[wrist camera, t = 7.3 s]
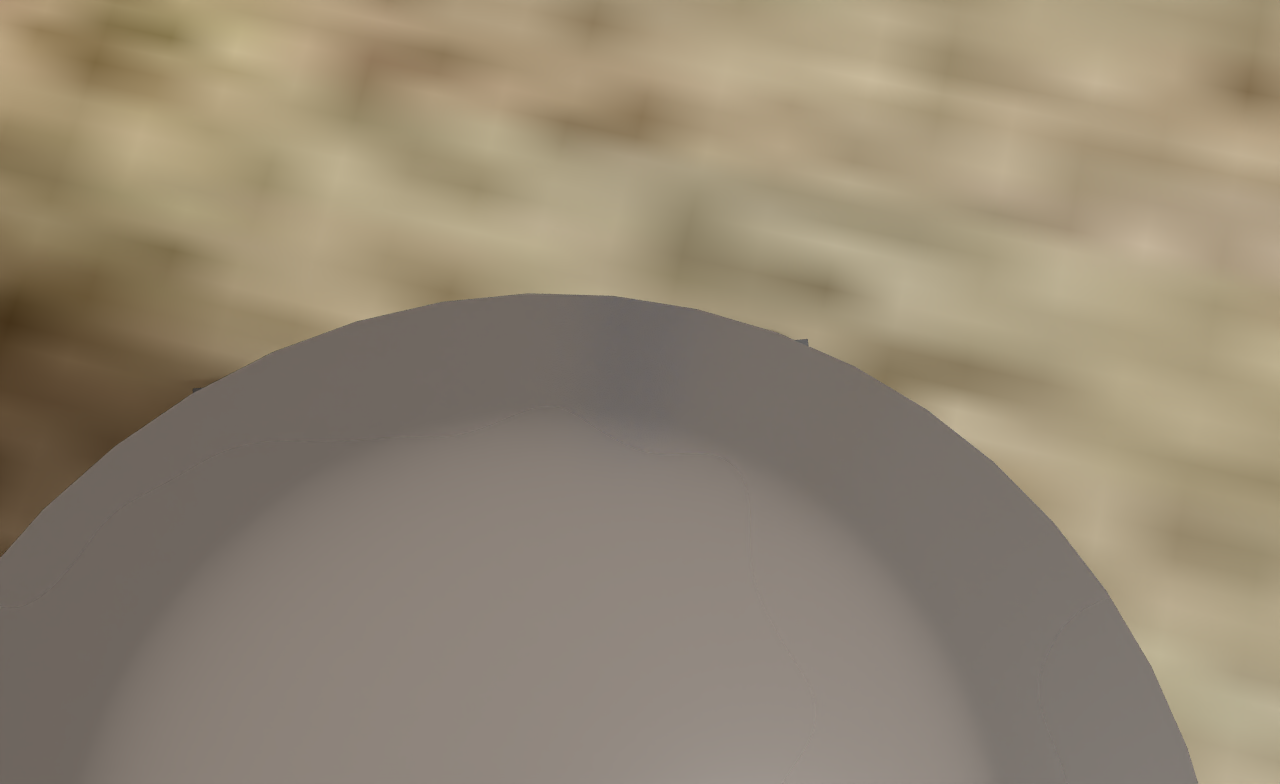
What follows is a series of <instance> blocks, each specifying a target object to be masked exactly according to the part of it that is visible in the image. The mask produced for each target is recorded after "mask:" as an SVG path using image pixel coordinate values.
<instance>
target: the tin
mask: <svg viewBox="0 0 1280 784" xmlns="http://www.w3.org/2000/svg"><path fill="white" fill-rule="evenodd" d="M0 784H1198V781H1197V778H1196V775H1195V772H1194V768H1193V765H1192V762H1191V759H1190V755H1189V752H1188V749H1187V746H1186V744H1185V742H1184V739H1183V737H1182V735H1181V733H1180V730H1179V728H1178V726H1177V724H1176V721H1175V719H1174V717H1173V715H1172V712H1171V710H1170V708H1169V705H1168V703H1167V701H1166V699H1165V696H1164V694H1163V692H1162V690H1161V687H1160V685H1159V683H1158V681H1157V678H1156V676H1155V674H1154V672H1153V669H1152V667H1151V665H1150V663H1149V662H1148V660H1147V658H1146V657H1145V655H1144V653H1143V652H1142V650H1141V648H1140V647H1139V645H1138V643H1137V642H1136V640H1135V638H1134V637H1133V635H1132V633H1131V632H1130V630H1129V628H1128V626H1127V625H1126V623H1125V621H1124V620H1123V618H1122V616H1121V615H1120V613H1119V611H1118V610H1117V608H1116V606H1115V605H1114V603H1113V601H1112V600H1111V598H1110V596H1109V595H1108V593H1107V591H1106V590H1105V589H1104V587H1103V586H1102V585H1101V583H1100V582H1099V581H1098V579H1097V578H1096V577H1095V576H1094V574H1093V573H1092V572H1091V570H1090V569H1089V568H1088V567H1087V565H1086V564H1085V563H1084V561H1083V560H1082V559H1081V558H1080V556H1079V555H1078V554H1077V552H1076V551H1075V550H1074V548H1073V547H1072V546H1071V545H1070V543H1069V542H1068V541H1067V539H1066V538H1065V537H1064V536H1063V534H1062V533H1061V532H1060V530H1059V529H1058V528H1057V526H1056V525H1055V524H1054V523H1053V522H1052V521H1051V520H1050V519H1049V518H1048V517H1047V516H1046V515H1045V514H1044V513H1043V511H1042V510H1041V509H1040V508H1039V507H1038V506H1037V505H1036V504H1035V503H1034V502H1033V501H1032V500H1031V499H1030V498H1029V497H1028V496H1027V495H1026V494H1025V493H1024V492H1023V491H1022V490H1021V489H1020V488H1019V487H1018V486H1017V485H1016V484H1015V483H1014V482H1013V481H1012V480H1011V479H1010V478H1009V477H1008V476H1007V475H1006V474H1005V473H1004V472H1003V471H1002V470H1001V469H1000V468H999V467H998V466H997V465H996V464H995V463H994V462H993V461H992V460H990V459H989V458H988V457H986V456H985V455H984V454H983V453H981V452H980V451H979V450H977V449H976V448H975V447H974V446H972V445H971V444H970V443H969V442H967V441H966V440H965V439H963V438H962V437H961V436H960V435H958V434H957V433H956V432H955V431H953V430H952V429H951V428H949V427H948V426H947V425H946V424H944V423H943V422H942V421H940V420H939V419H938V418H937V417H935V416H934V415H933V414H932V413H930V412H929V411H928V410H926V409H925V408H923V407H921V406H920V405H918V404H916V403H915V402H913V401H911V400H910V399H908V398H906V397H905V396H903V395H901V394H900V393H898V392H896V391H895V390H893V389H891V388H890V387H888V386H886V385H885V384H883V383H881V382H880V381H878V380H876V379H875V378H873V377H871V376H870V375H868V374H866V373H865V372H863V371H861V370H860V369H858V368H856V367H854V366H852V365H850V364H848V363H845V362H843V361H841V360H838V359H836V358H834V357H832V356H829V355H827V354H825V353H822V352H820V351H818V350H816V349H813V348H811V347H809V346H806V345H804V344H802V343H800V342H797V341H795V340H793V339H790V338H788V337H786V336H784V335H781V334H779V333H776V332H773V331H769V330H766V329H763V328H759V327H756V326H752V325H749V324H746V323H742V322H739V321H735V320H732V319H728V318H725V317H722V316H718V315H715V314H711V313H708V312H705V311H701V310H698V309H692V308H686V307H679V306H673V305H667V304H661V303H654V302H648V301H642V300H635V299H629V298H623V297H616V296H595V295H561V294H518V295H508V296H498V297H488V298H478V299H468V300H457V301H447V302H440V303H436V304H431V305H427V306H422V307H418V308H414V309H409V310H405V311H401V312H396V313H392V314H387V315H383V316H379V317H374V318H370V319H366V320H361V321H357V322H354V323H351V324H349V325H346V326H343V327H340V328H338V329H335V330H332V331H329V332H327V333H324V334H321V335H318V336H316V337H313V338H310V339H307V340H305V341H302V342H299V343H297V344H294V345H291V346H288V347H286V348H283V349H280V350H277V351H275V352H272V353H270V354H268V355H266V356H264V357H262V358H260V359H259V360H257V361H255V362H253V363H251V364H249V365H247V366H245V367H243V368H241V369H239V370H237V371H235V372H233V373H231V374H229V375H227V376H225V377H224V378H222V379H220V380H218V381H216V382H214V383H212V384H210V385H208V386H206V387H204V388H202V389H200V390H198V391H196V392H194V393H192V394H191V395H189V396H188V397H186V398H185V399H183V400H182V401H181V402H179V403H178V404H176V405H175V406H173V407H172V408H170V409H169V410H167V411H166V412H164V413H163V414H161V415H160V416H159V417H157V418H156V419H154V420H153V421H151V422H150V423H148V424H147V425H145V426H144V427H142V428H141V429H140V430H138V431H137V432H135V433H134V434H132V435H131V436H129V437H128V438H126V439H125V440H123V441H122V442H120V443H119V444H118V445H116V446H115V447H114V448H112V449H111V450H110V451H109V452H108V453H107V454H106V455H104V456H103V457H102V458H101V459H100V460H99V461H98V462H96V463H95V464H94V465H93V466H92V467H91V468H90V469H89V470H87V471H86V472H85V473H84V474H83V475H82V476H81V477H79V478H78V479H77V480H76V481H75V482H74V483H73V484H72V485H70V486H69V487H68V488H67V489H66V490H65V491H64V492H62V493H61V494H60V495H59V496H58V497H57V498H56V499H55V500H53V501H52V502H51V503H50V504H49V505H48V506H47V507H45V508H44V509H43V510H42V511H41V513H40V514H39V515H38V516H37V517H36V518H35V519H34V520H33V522H32V523H31V524H30V525H29V526H28V527H27V528H26V529H25V531H24V532H23V533H22V534H21V535H20V536H19V537H18V538H17V540H16V541H15V542H14V543H13V544H12V545H11V546H10V547H9V549H8V550H7V551H6V552H5V553H4V554H3V555H2V556H1V558H0Z"/></svg>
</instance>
